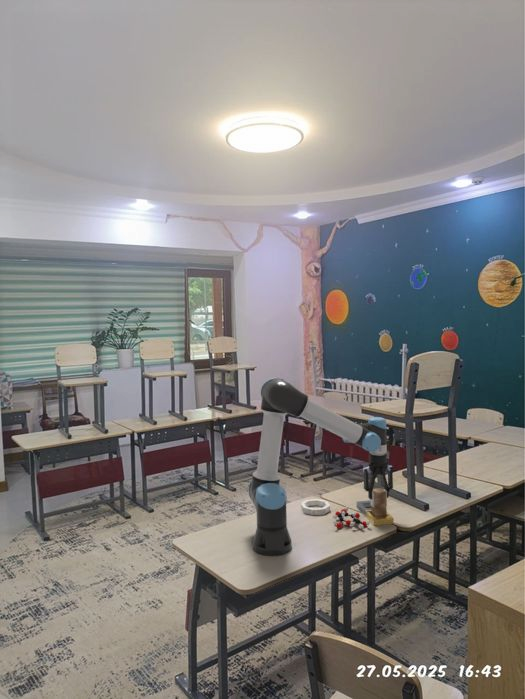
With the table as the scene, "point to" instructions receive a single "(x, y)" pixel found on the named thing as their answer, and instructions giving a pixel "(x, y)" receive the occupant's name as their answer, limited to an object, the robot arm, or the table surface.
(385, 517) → the yellow grey tray
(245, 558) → the table surface
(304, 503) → the white ring
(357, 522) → the molecular model
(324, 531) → the table surface
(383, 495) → the walnut peg
